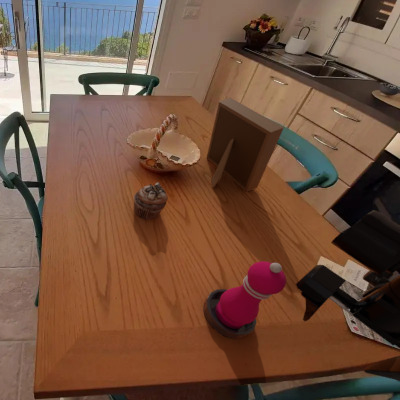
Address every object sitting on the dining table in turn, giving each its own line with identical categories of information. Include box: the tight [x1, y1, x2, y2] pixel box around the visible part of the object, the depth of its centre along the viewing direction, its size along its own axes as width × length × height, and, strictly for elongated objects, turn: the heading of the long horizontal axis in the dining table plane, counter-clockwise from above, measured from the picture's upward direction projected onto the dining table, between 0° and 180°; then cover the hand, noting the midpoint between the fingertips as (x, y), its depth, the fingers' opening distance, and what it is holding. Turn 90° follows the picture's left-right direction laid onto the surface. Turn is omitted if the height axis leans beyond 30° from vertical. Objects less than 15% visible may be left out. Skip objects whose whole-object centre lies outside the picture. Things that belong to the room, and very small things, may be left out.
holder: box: [202, 288, 257, 340], centre depth 60 cm, size 10×10×2 cm
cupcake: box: [133, 182, 169, 221], centre depth 81 cm, size 10×10×10 cm
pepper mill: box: [215, 260, 287, 329], centre depth 54 cm, size 7×7×20 cm
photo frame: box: [206, 97, 285, 193], centre depth 92 cm, size 15×22×25 cm
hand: (333, 343), depth 45 cm, fingers open, 9 cm apart
